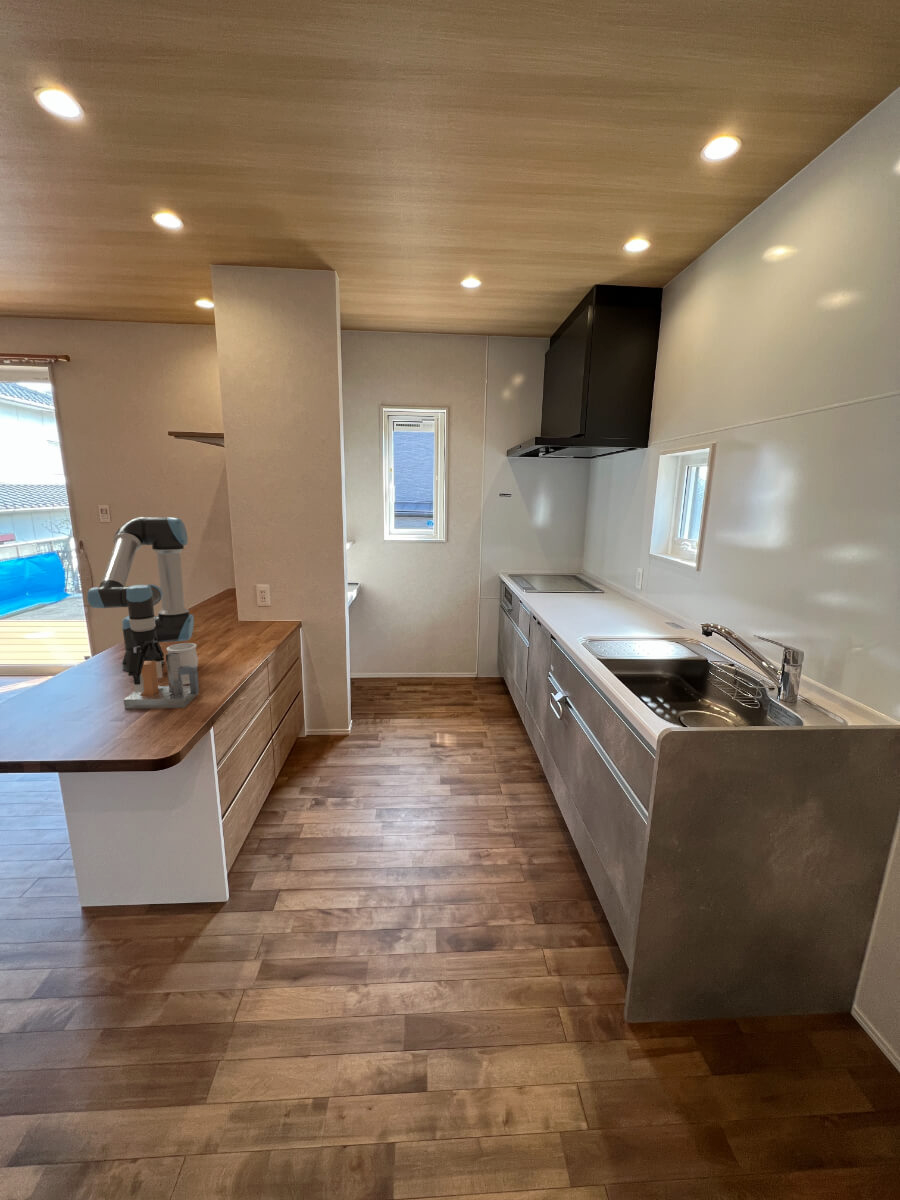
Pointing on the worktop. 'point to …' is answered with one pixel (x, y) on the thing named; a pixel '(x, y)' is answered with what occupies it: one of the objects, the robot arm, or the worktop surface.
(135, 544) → the robot arm
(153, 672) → the orange square bar
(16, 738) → the worktop surface
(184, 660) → the jar
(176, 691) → the plate with square hole
